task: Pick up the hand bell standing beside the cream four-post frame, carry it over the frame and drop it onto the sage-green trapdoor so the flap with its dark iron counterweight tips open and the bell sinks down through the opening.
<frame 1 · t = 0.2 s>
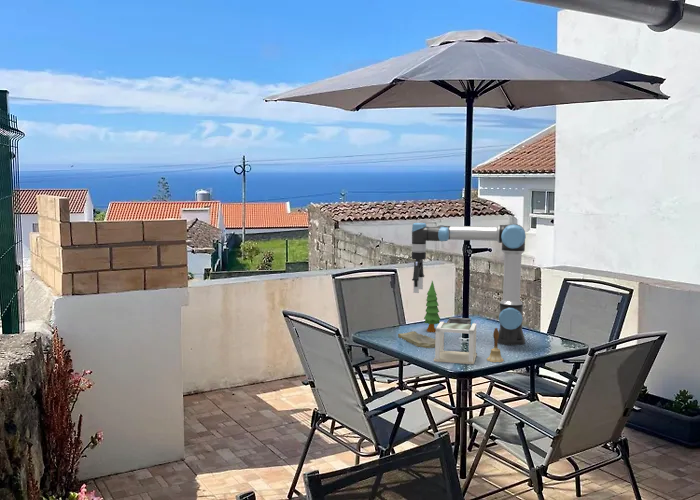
hand: (418, 291, 369), 28 cm above the table, tool pointing down, fingers open, 13 cm apart
decorative tree: (431, 331, 399), on the table
trapdoor: (457, 324, 342), point 16 cm above the table, hinge at 0.0°
hand bell: (495, 360, 334), on the table
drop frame: (455, 358, 337), on the table
stone slab: (418, 343, 372), on the table
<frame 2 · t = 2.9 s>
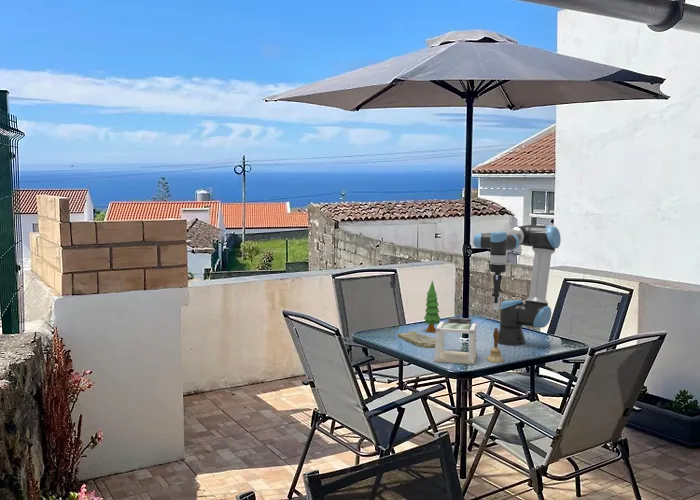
hand: (496, 307, 331), 26 cm above the table, tool pointing down, fingers open, 13 cm apart
nothing on the table moved.
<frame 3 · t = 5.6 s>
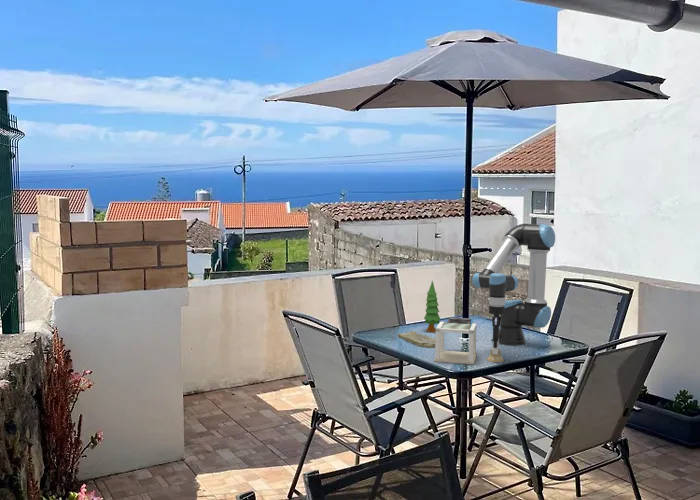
hand: (495, 352, 333), 4 cm above the table, tool pointing down, fingers closed on hand bell, 5 cm apart
hand bell: (495, 360, 334), on the table, touching gripper
everything else where it was.
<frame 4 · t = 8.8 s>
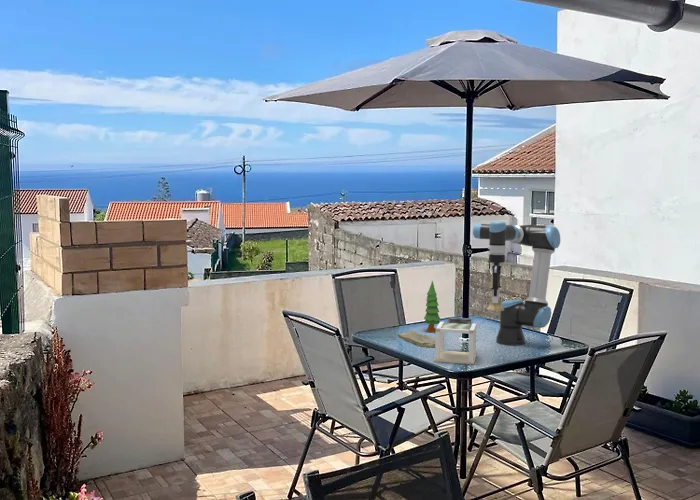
hand: (495, 301, 331), 29 cm above the table, tool pointing down, fingers closed on hand bell, 5 cm apart
hand bell: (495, 310, 331), point 25 cm above the table, touching gripper
everything else where it was.
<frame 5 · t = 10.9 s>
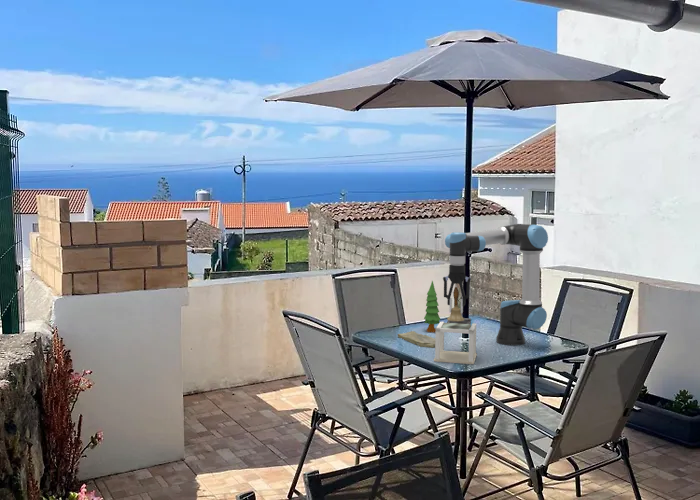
hand: (456, 312, 333), 23 cm above the table, tool pointing down, fingers closed on hand bell, 5 cm apart
hand bell: (455, 320, 333), point 19 cm above the table, touching gripper
everything else where it was.
when the fingers open (23 cm above the table, at t = 11.7 s): hand bell drops 9 cm, resting on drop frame, trapdoor.
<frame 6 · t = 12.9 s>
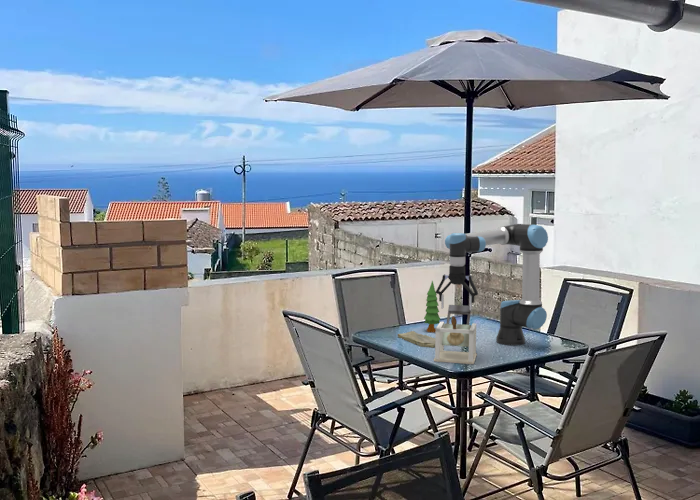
hand: (456, 308, 333), 25 cm above the table, tool pointing down, fingers open, 13 cm apart
trapdoor: (457, 325, 341), point 15 cm above the table, hinge at -38.9°, touching hand bell
hand bell: (455, 338, 335), point 10 cm above the table, touching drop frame, trapdoor
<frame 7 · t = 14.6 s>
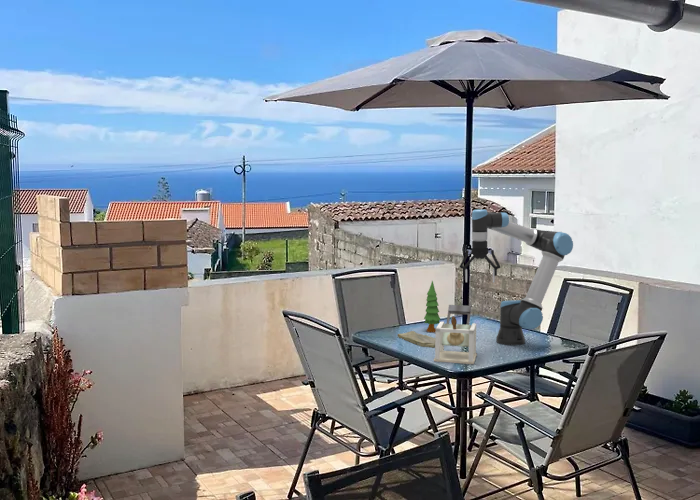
hand: (479, 282, 347), 36 cm above the table, tool pointing down, fingers open, 13 cm apart
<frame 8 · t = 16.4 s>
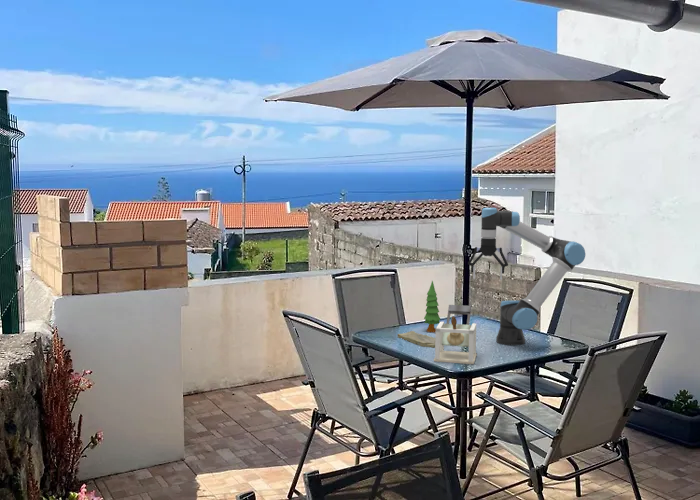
hand: (487, 279, 353), 37 cm above the table, tool pointing down, fingers open, 13 cm apart
at the end: hand bell point 9.9 cm above the table; hand bell inside the target area on the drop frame (1.2 cm from its centre), point 9.9 cm above the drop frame's base; the gripper is holding nothing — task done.
